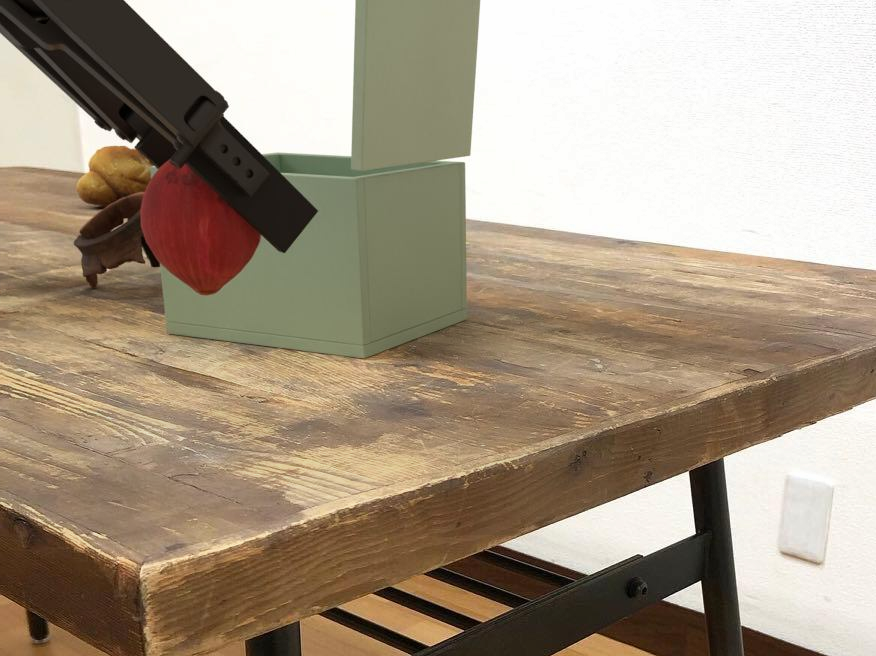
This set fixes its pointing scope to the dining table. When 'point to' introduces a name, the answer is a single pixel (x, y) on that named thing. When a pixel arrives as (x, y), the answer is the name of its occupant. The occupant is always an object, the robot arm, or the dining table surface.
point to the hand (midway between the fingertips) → (271, 222)
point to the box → (345, 264)
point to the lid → (413, 81)
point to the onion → (195, 230)
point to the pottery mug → (113, 238)
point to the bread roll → (114, 175)
